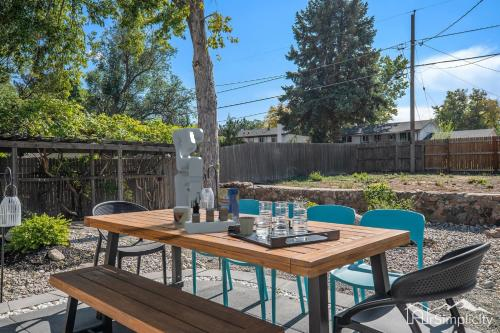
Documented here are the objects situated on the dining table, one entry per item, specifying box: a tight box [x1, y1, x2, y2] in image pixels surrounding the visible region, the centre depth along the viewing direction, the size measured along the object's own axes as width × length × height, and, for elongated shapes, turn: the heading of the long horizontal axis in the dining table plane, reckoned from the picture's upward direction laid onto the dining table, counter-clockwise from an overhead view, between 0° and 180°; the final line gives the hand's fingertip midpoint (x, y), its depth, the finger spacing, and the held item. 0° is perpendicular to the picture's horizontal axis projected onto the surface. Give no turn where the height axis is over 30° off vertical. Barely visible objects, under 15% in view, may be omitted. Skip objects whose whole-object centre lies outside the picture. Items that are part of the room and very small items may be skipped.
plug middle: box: [205, 207, 215, 222], centre depth 215 cm, size 4×4×8 cm
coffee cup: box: [172, 206, 189, 229], centre depth 228 cm, size 9×9×12 cm
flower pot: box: [238, 216, 257, 236], centre depth 202 cm, size 9×9×9 cm
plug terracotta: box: [218, 206, 228, 221], centre depth 218 cm, size 4×4×8 cm
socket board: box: [184, 219, 237, 235], centre depth 215 cm, size 12×26×5 cm, turn 112°
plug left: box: [191, 212, 201, 223], centre depth 212 cm, size 4×4×8 cm
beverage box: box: [218, 187, 240, 225], centre depth 240 cm, size 7×11×22 cm, turn 52°
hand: (196, 213), depth 211 cm, fingers closed
